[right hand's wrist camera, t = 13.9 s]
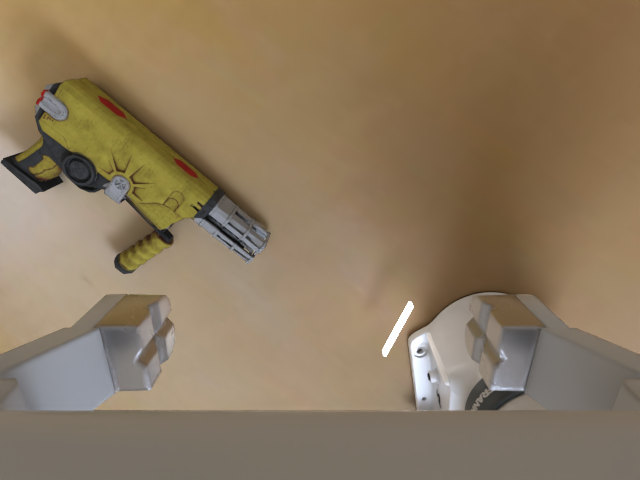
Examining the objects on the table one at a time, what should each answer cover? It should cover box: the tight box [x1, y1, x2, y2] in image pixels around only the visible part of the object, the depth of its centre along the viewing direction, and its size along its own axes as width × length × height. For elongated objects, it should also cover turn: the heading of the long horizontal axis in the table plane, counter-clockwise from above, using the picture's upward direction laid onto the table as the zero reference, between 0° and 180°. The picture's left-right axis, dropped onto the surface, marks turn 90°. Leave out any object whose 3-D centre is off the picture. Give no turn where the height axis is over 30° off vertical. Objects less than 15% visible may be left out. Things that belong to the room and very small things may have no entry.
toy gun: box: [1, 78, 271, 274], centre depth 39 cm, size 5×24×15 cm
